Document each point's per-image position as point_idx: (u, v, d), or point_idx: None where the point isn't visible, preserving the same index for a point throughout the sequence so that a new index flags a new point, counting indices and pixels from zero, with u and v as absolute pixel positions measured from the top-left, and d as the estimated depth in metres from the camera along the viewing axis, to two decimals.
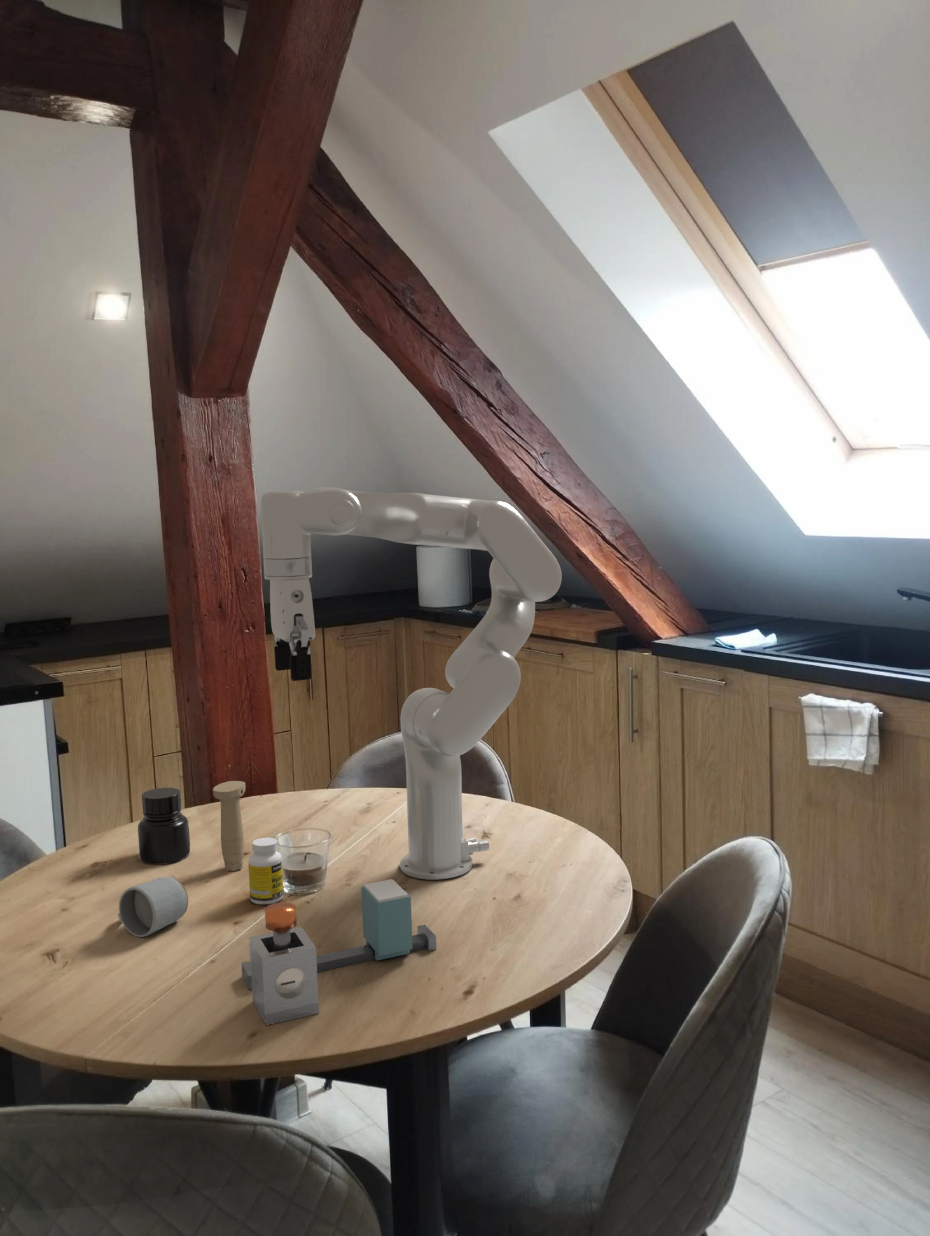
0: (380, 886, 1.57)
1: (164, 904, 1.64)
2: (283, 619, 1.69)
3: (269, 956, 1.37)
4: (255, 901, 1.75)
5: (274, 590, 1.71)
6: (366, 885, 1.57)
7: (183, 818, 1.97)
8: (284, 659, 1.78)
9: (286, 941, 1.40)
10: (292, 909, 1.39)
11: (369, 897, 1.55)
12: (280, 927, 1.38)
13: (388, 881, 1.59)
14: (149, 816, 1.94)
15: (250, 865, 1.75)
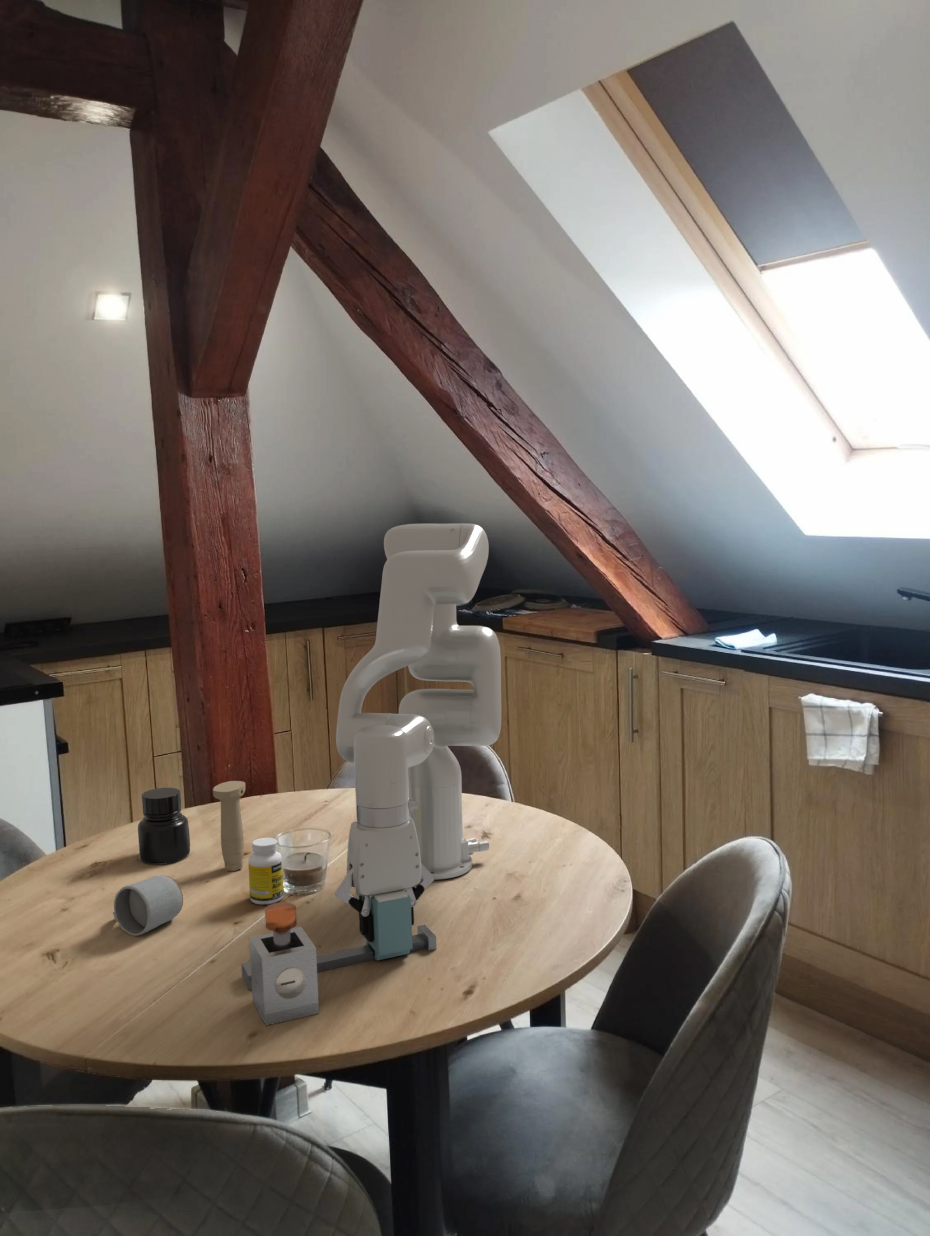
0: None
1: (159, 903, 1.64)
2: (416, 863, 1.55)
3: (269, 956, 1.37)
4: (255, 901, 1.75)
5: (394, 839, 1.52)
6: None
7: (183, 818, 1.97)
8: None
9: (286, 941, 1.40)
10: (292, 909, 1.39)
11: None
12: (280, 927, 1.38)
13: None
14: (149, 816, 1.94)
15: (250, 865, 1.75)
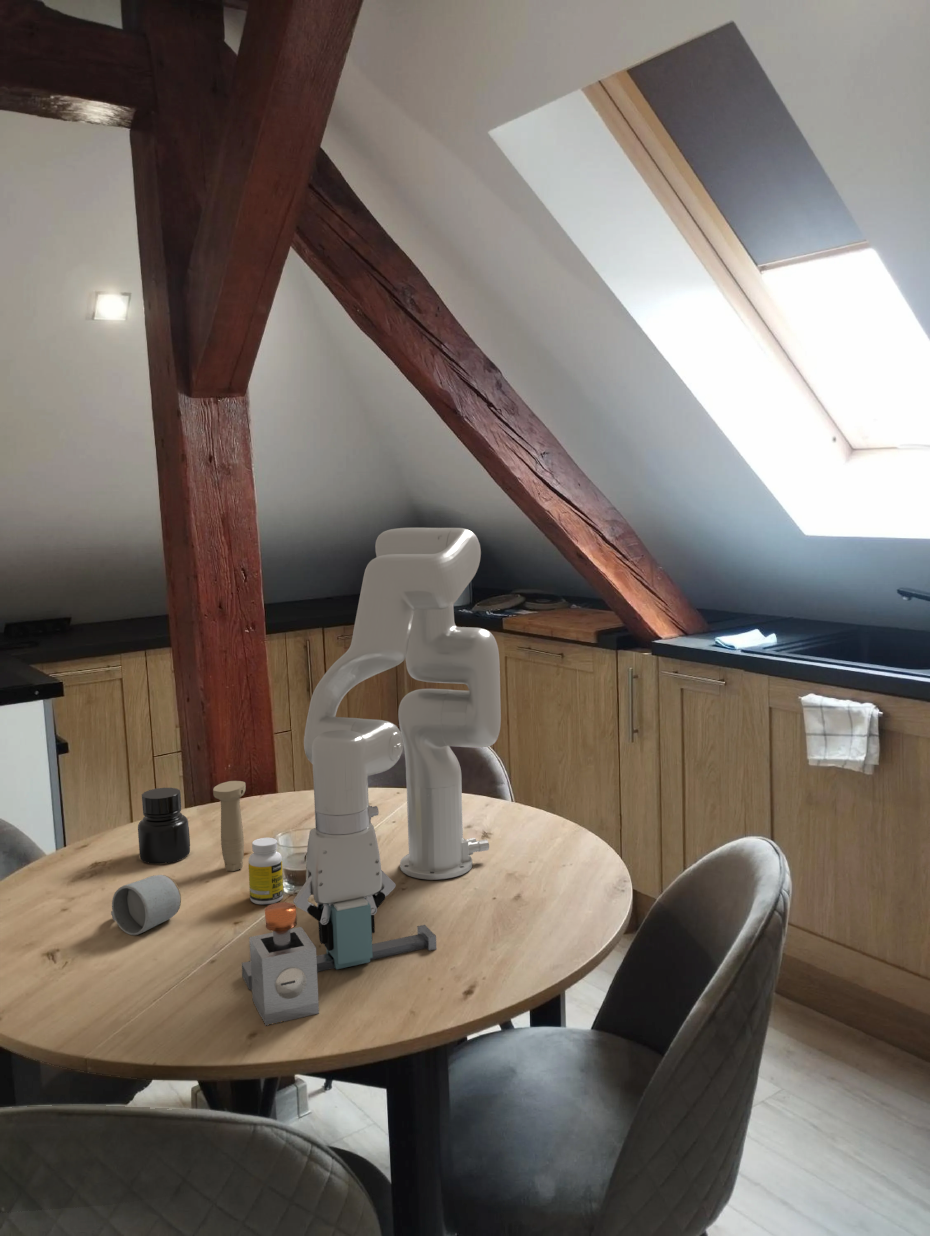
0: None
1: (157, 902, 1.65)
2: (376, 870, 1.52)
3: (269, 956, 1.37)
4: (255, 901, 1.75)
5: (353, 846, 1.50)
6: None
7: (183, 818, 1.97)
8: None
9: (286, 941, 1.40)
10: (292, 909, 1.39)
11: None
12: (280, 927, 1.38)
13: None
14: (149, 816, 1.94)
15: (250, 865, 1.75)
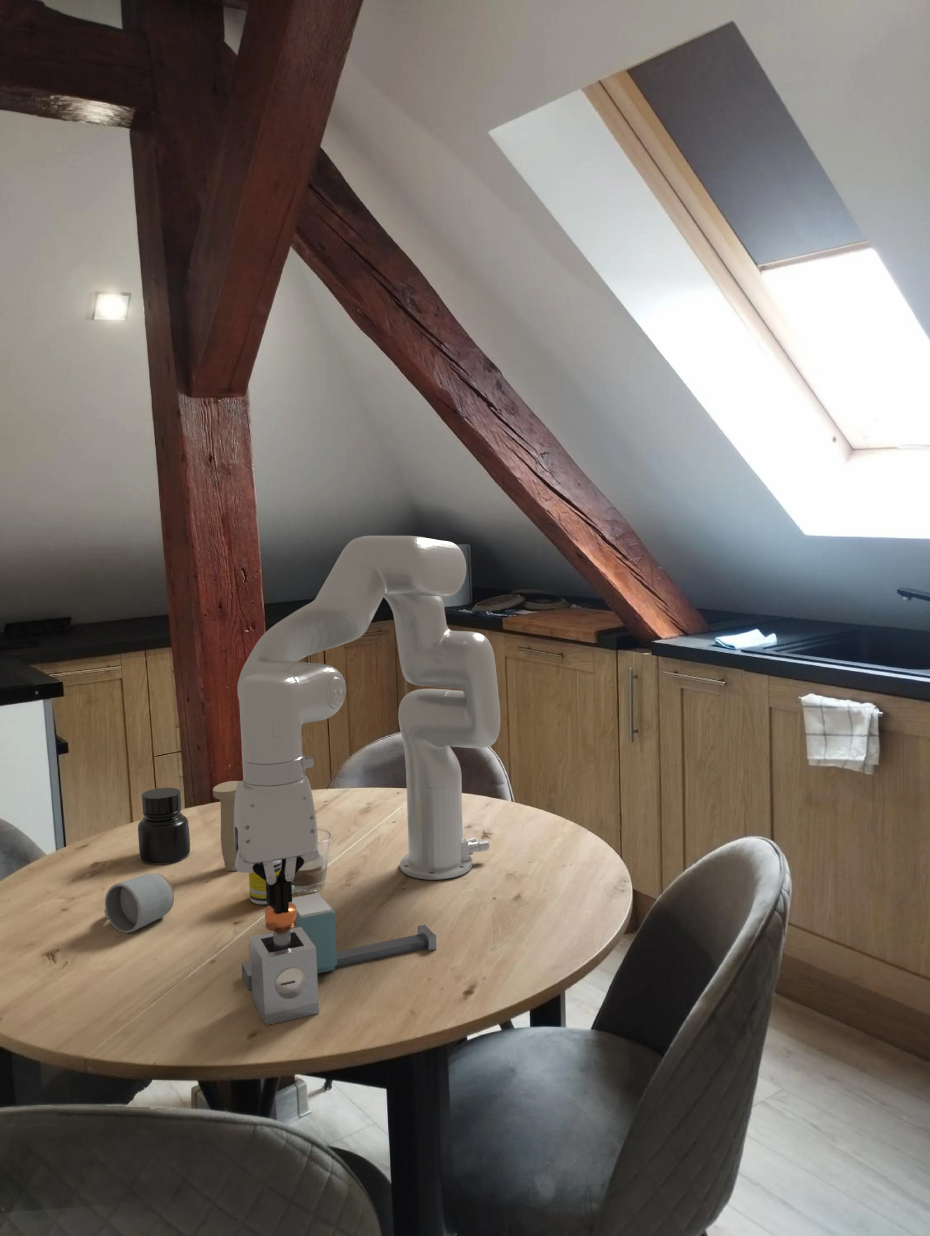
0: (305, 900, 1.52)
1: (149, 900, 1.65)
2: (311, 827, 1.38)
3: (269, 956, 1.37)
4: (255, 901, 1.75)
5: (284, 800, 1.36)
6: None
7: (183, 818, 1.97)
8: None
9: (286, 941, 1.40)
10: (292, 909, 1.39)
11: None
12: (280, 927, 1.38)
13: (314, 894, 1.54)
14: (149, 816, 1.94)
15: None
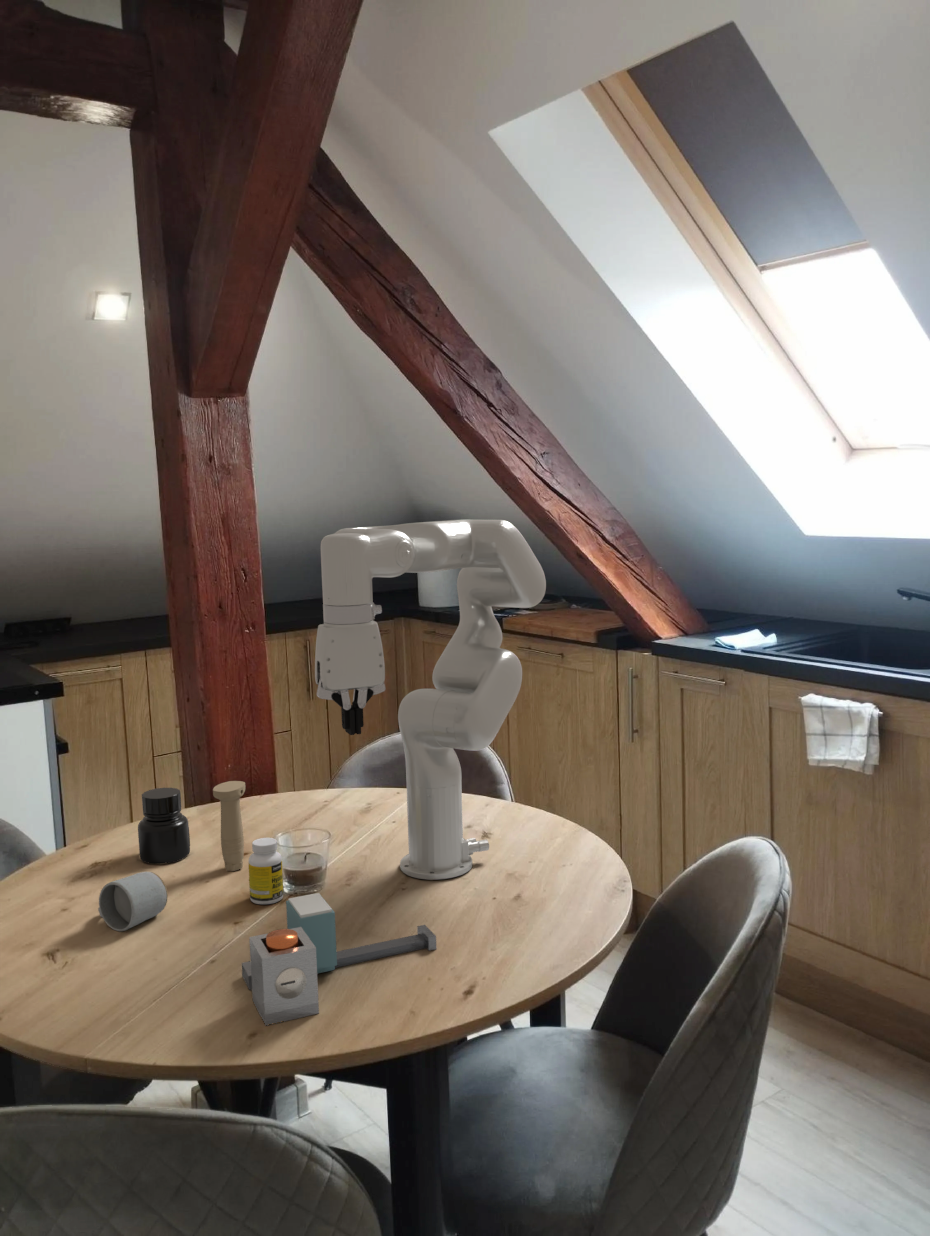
0: (305, 900, 1.52)
1: (143, 899, 1.66)
2: (380, 663, 1.65)
3: (269, 956, 1.37)
4: (255, 901, 1.75)
5: (358, 637, 1.63)
6: (291, 899, 1.53)
7: (183, 818, 1.97)
8: None
9: None
10: (293, 936, 1.40)
11: (292, 912, 1.50)
12: None
13: (314, 894, 1.54)
14: (149, 816, 1.94)
15: (250, 865, 1.75)
